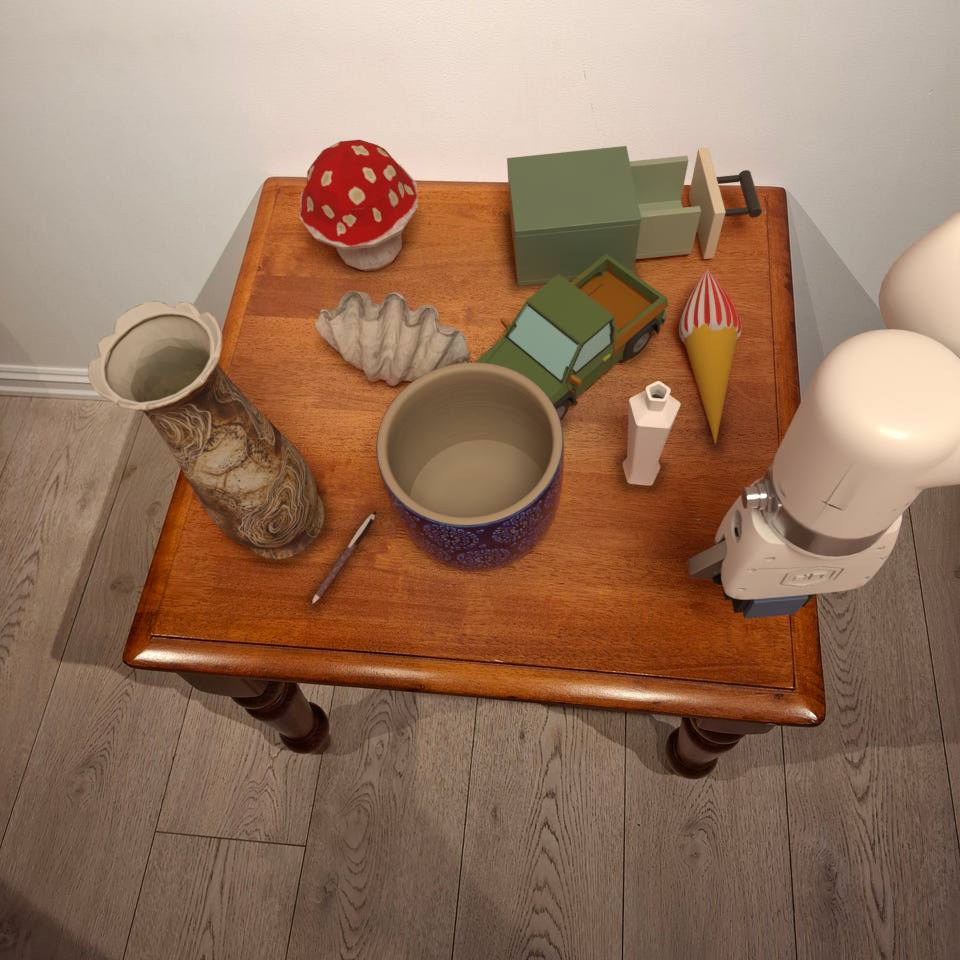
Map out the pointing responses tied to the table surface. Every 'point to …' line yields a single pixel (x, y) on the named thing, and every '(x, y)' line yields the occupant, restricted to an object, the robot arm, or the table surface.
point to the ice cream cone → (710, 343)
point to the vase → (210, 427)
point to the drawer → (676, 226)
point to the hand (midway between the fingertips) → (764, 591)
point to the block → (774, 606)
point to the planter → (473, 464)
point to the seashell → (391, 337)
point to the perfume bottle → (648, 432)
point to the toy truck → (579, 330)
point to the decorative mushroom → (358, 203)
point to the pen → (344, 556)
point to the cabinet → (571, 212)
